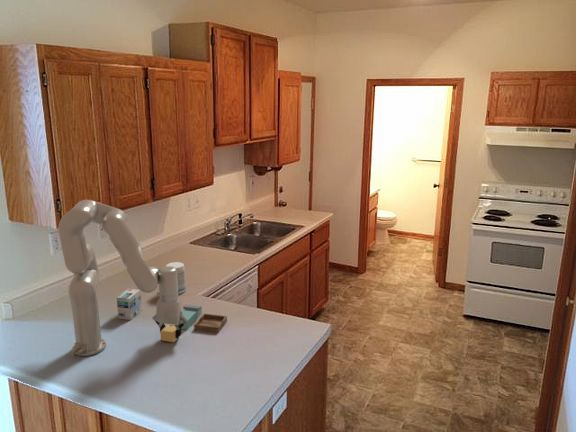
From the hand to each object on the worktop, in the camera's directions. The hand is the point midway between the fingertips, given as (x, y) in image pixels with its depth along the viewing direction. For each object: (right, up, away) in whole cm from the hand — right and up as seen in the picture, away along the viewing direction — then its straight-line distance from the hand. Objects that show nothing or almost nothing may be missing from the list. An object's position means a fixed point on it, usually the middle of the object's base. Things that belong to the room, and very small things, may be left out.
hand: (170, 335), depth 195 cm
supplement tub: (-9, +11, +49) cm, 51 cm away
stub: (0, -1, 0) cm, 1 cm away
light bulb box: (-25, +4, +22) cm, 34 cm away
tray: (+15, +1, +13) cm, 20 cm away
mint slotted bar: (+4, +2, +17) cm, 18 cm away
